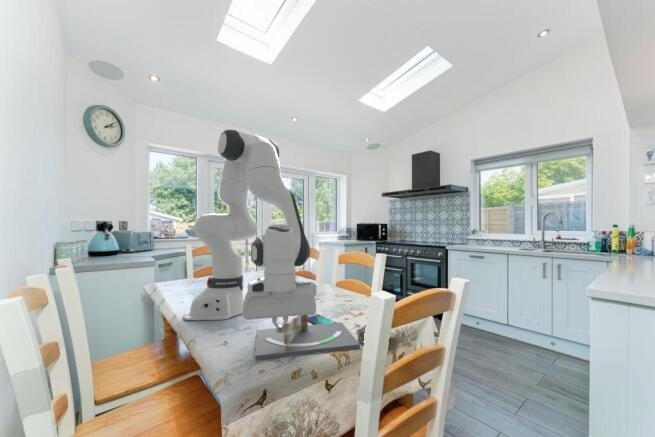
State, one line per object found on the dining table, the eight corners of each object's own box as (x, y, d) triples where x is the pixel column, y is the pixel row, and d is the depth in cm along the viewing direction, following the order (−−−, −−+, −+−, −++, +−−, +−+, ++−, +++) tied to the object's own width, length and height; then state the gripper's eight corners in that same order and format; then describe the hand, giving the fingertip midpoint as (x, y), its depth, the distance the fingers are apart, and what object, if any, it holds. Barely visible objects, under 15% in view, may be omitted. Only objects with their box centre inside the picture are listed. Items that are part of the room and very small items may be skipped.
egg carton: (375, 349, 76) (374, 334, 76) (353, 342, 81) (353, 328, 81) (394, 337, 83) (394, 324, 83) (373, 331, 88) (373, 318, 89)
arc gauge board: (255, 359, 70) (255, 354, 70) (257, 333, 87) (257, 329, 87) (359, 348, 76) (359, 343, 76) (341, 325, 93) (341, 321, 94)
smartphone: (314, 312, 107) (338, 322, 95) (314, 314, 107) (338, 325, 95) (298, 316, 103) (321, 327, 91) (298, 318, 103) (321, 329, 91)
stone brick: (298, 324, 90) (298, 309, 90) (309, 325, 89) (309, 310, 89) (279, 343, 75) (279, 325, 76) (291, 345, 74) (291, 326, 75)
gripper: (314, 278, 83) (315, 325, 82) (243, 282, 78) (243, 331, 78) (318, 282, 76) (318, 333, 76) (241, 286, 72) (241, 340, 72)
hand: (280, 332), depth 77 cm, fingers closed
